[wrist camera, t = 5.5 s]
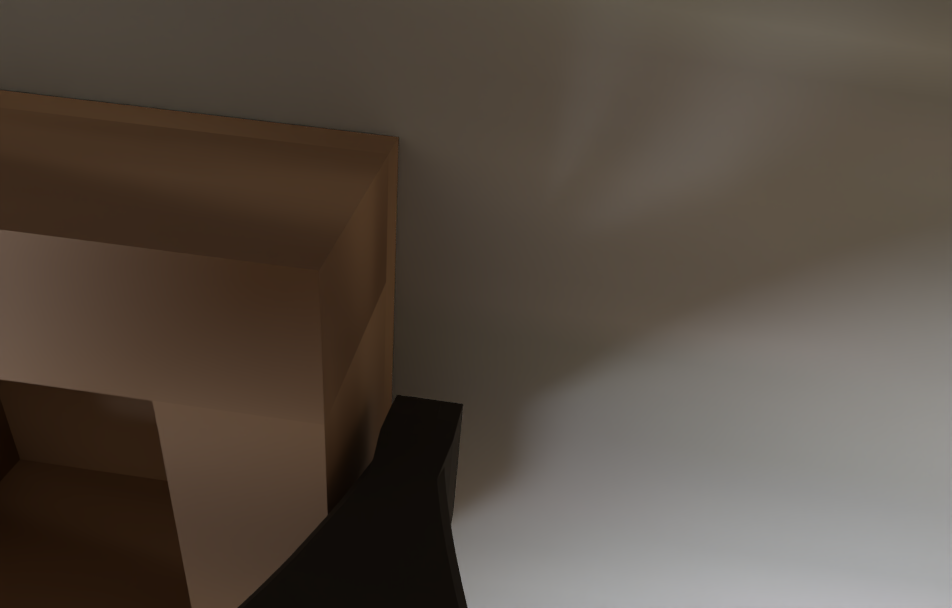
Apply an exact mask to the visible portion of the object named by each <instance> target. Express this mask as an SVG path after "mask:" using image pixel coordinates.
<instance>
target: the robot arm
mask: <svg viewBox="0 0 952 608" xmlns="http://www.w3.org/2000/svg"><path fill="white" fill-rule="evenodd" d="M462 410H463V404H458V403H451V402H444V401H437V400H430V399H423V398H416V397H408V396H401V395H397V396H396V398H395V400H394V402H393V404H392V406H391V408H390V410H389V412H388V414H387V416H386V418H385V420H384V422H383V425H382V427H381V429H380V433H379V437H378V440H377V445H376V449H375V453H374V457H373V460H372V461H371V463H370V464H369V465H368V467H367V468H366V469H365V471H364V472H363V473H362V474H361V475H360V477H359V478H358V479H357V480H356V482H355V483H354V484H353V485H352V487H351V488H350V489H349V490H348V492H347V493H346V494H345V495H344V497H343V498H342V499H341V500H340V502H339V503H338V504H337V505H336V506H335V507H334V509H333V510H332V511H331V512H330V513H329V514H328V515H327V517H326V518H325V519H324V520H323V521H322V522H321V523H320V524H319V525H318V526H317V527H316V529H315V530H314V531H313V532H312V533H311V534H310V535H309V536H308V537H307V538H306V540H305V541H304V542H303V543H302V544H301V545H300V546H299V547H298V548H297V549H296V550H295V552H294V553H293V554H292V555H291V556H290V557H289V558H288V559H287V560H286V561H285V562H284V563H283V564H282V565H281V566H280V567H279V568H278V569H277V570H276V571H275V572H274V573H273V574H272V575H271V576H270V577H269V578H268V579H267V580H266V581H265V582H264V583H263V584H262V585H261V586H260V587H259V588H258V589H257V590H256V591H255V592H254V593H253V594H252V595H250V596H249V597H248V598H247V599H246V600H245V601H244V602H243V603H242V604H241V605H240V606H239V607H238V608H467V603H466V599H465V595H464V591H463V586H462V582H461V577H460V572H459V568H458V563H457V558H456V553H455V547H454V542H453V536H452V530H451V521H452V515H453V508H454V497H455V486H456V476H457V465H458V454H459V443H460V432H461V421H462Z"/></svg>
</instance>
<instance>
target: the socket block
mask: <svg viewBox="0 0 952 608" xmlns="http://www.w3.org/2000/svg"><path fill="white" fill-rule="evenodd" d="M398 146H399V137H393V136H384V135H376V134H367V133H359V132H350V131H342V130H333V129H325V128H316V127H308V126H300V125H291V124H283V123H274V122H266V121H257V120H249V119H240V118H232V117H223V116H215V115H206V114H198V113H190V112H181V111H173V110H164V109H156V108H147V107H139V106H130V105H122V104H113V103H105V102H97V101H88V100H80V99H71V98H63V97H54V96H46V95H37V94H29V93H20V92H12V91H3V90H0V608H238V607H239V606H240V605H241V604H242V603H243V602H244V601H245V600H246V599H247V598H248V597H249V596H250V595H252V594H253V593H254V592H255V591H256V590H257V589H258V588H259V587H260V586H261V585H262V584H263V583H264V582H265V581H266V580H267V579H268V578H269V577H270V576H271V575H272V574H273V573H274V572H275V571H276V570H277V569H278V568H279V567H280V566H281V565H282V564H283V563H284V562H285V561H286V560H287V559H288V558H289V557H290V556H291V555H292V554H293V553H294V552H295V550H296V549H297V548H298V547H299V546H300V545H301V544H302V543H303V542H304V541H305V540H306V538H307V537H308V536H309V535H310V534H311V533H312V532H313V531H314V530H315V529H316V527H317V526H318V525H319V524H320V523H321V522H322V521H323V520H324V519H325V518H326V517H327V515H328V514H329V513H330V512H331V511H332V510H333V509H334V507H335V506H336V505H337V504H338V503H339V502H340V500H341V499H342V498H343V497H344V495H345V494H346V493H347V492H348V490H349V489H350V488H351V487H352V485H353V484H354V483H355V482H356V480H357V479H358V478H359V477H360V475H361V474H362V473H363V472H364V471H365V469H366V468H367V467H368V465H369V464H370V463H371V461H372V460H373V457H374V453H375V449H376V445H377V440H378V437H379V433H380V429H381V427H382V425H383V422H384V420H385V418H386V416H387V414H388V412H389V410H390V408H391V406H392V373H393V335H394V297H395V259H396V222H397V184H398Z"/></svg>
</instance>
